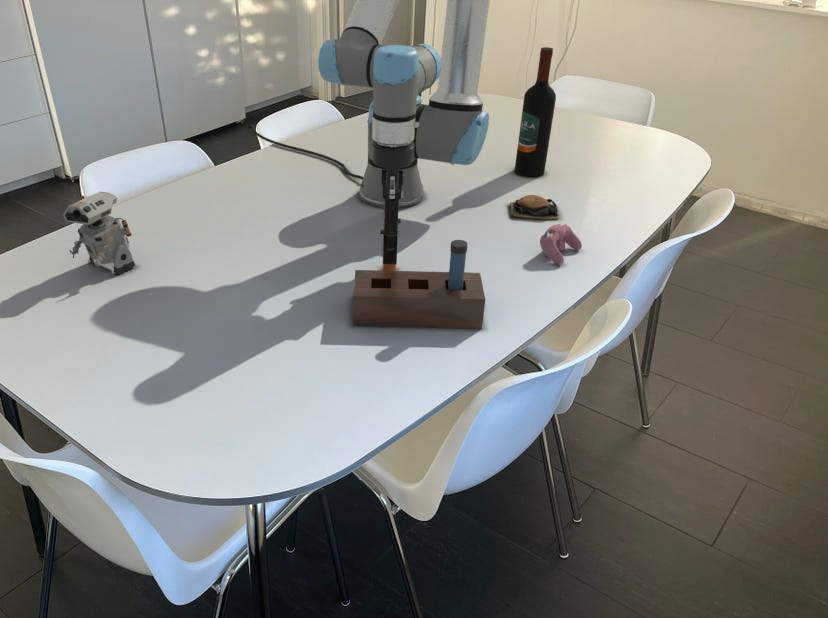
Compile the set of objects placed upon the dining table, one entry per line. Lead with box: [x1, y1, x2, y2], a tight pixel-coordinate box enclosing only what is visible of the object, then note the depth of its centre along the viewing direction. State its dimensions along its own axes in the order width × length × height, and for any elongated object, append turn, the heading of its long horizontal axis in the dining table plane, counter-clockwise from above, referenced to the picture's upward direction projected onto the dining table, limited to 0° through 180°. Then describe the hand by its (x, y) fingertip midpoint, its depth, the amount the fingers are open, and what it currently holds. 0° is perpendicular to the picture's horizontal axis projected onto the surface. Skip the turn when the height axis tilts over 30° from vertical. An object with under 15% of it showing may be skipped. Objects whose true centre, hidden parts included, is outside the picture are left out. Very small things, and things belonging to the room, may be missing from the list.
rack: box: [352, 269, 486, 330], centre depth 130 cm, size 10×22×6 cm, turn 87°
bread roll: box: [509, 194, 559, 221], centre depth 167 cm, size 11×8×4 cm
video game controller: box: [539, 223, 583, 266], centre depth 149 cm, size 10×5×7 cm, turn 141°
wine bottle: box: [514, 46, 557, 179], centre depth 180 cm, size 8×8×30 cm
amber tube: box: [382, 203, 400, 271], centre depth 141 cm, size 3×3×14 cm
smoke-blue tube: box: [448, 239, 468, 290], centre depth 127 cm, size 3×3×14 cm
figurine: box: [62, 191, 136, 276], centre depth 141 cm, size 9×12×15 cm
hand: (389, 259), depth 143 cm, fingers closed on amber tube, 2 cm apart
